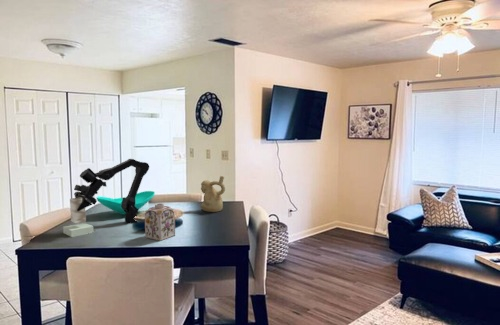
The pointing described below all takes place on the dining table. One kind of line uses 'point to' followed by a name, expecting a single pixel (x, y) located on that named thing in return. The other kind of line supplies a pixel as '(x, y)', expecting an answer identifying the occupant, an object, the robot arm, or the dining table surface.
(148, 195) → the table top decor
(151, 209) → the decorative jar
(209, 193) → the ceramic vessel
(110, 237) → the dining table surface
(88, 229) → the sage block
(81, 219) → the cream block
